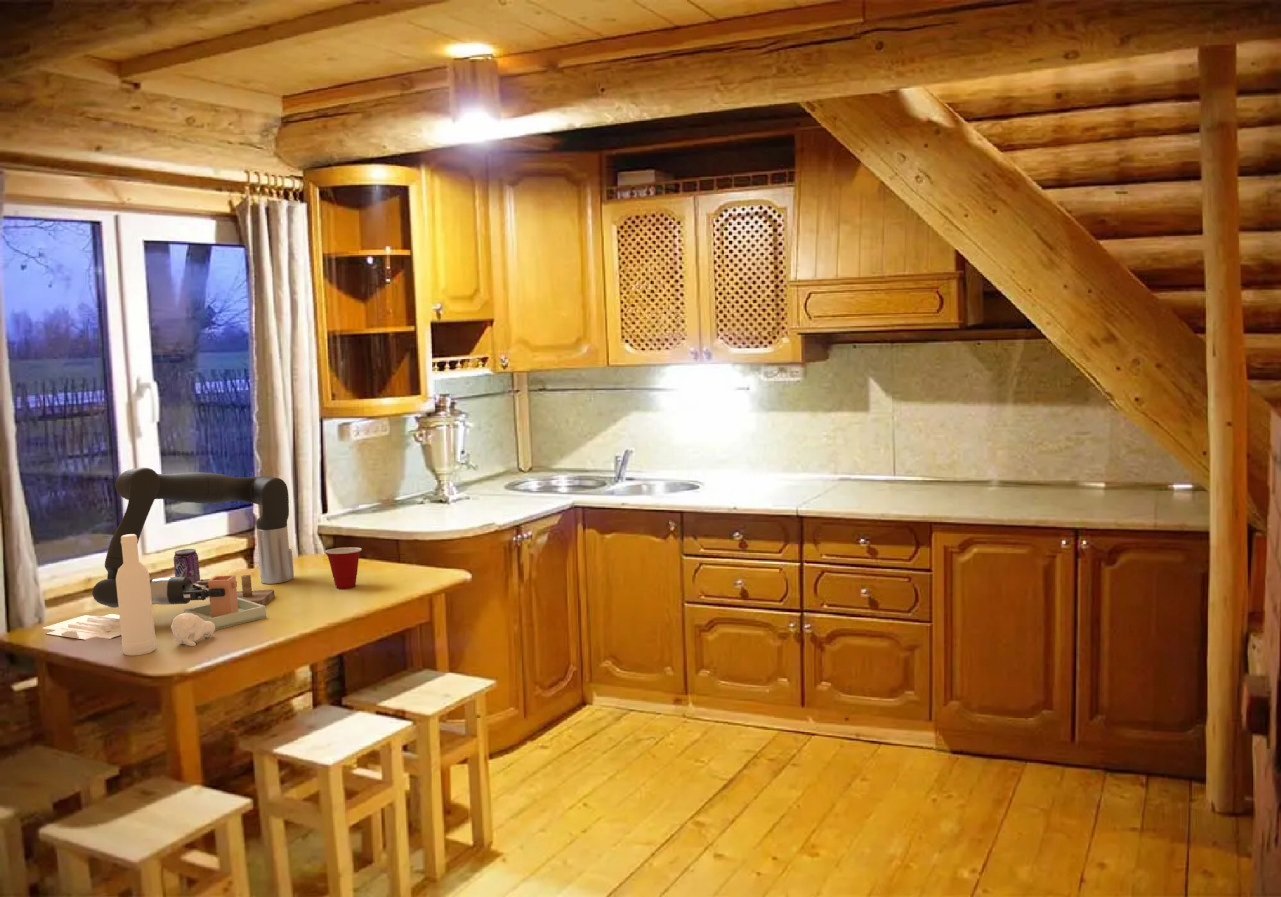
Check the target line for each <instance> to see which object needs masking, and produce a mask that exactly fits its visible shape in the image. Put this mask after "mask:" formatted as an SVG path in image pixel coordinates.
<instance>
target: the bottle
mask: <svg viewBox="0 0 1281 897" xmlns="http://www.w3.org/2000/svg"><path fill="white" fill-rule="evenodd" d="M137 542H138V543H139V541H138V539H137V535H135V534H128V535H123V536H122V537H121V544H122V554H123V564H122V566H121V567H120V568H119V569H118V572H117V575H116V586H117V596H118V606H119V607H118V615H119V616H120V626H121V635H120V636H121V648H122V654H123V655H125V656H129V657H130V656H133V657H135V656H143V655H147V654H149V653H152V652H154V651H156V650H157V637H156V633H155V632H156V631H155V621H154V619H155V618H154V612H153V604H152V598H151V587H150V579H151V577H150V573H149V570H148V568H147V567H146V565H145V564H143V563H142V562H140V560H139V558H140V556H139V548H138V547H139V546H138V545H137Z"/></svg>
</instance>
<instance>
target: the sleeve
mask: <svg viewBox="0 0 1281 897" xmlns="http://www.w3.org/2000/svg"><path fill="white" fill-rule="evenodd" d="M236 577H237V576H236V575H234V574H233V575H231V574H230V575H215V576H213V577H212V578H209V579H210V580H209V581H208V585H209V589H213V588H224V589H225V596H223V597H211V596H210V598H209V604H210V608H211V617H212V618H213V617H218V616H222V615H226V614H230V613H234V612H238V600H237V591H238V590H237V588H238V585H237V584H238V582H237V578H236Z"/></svg>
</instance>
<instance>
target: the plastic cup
mask: <svg viewBox="0 0 1281 897" xmlns="http://www.w3.org/2000/svg"><path fill="white" fill-rule="evenodd" d="M361 551H362V548H361V547H353V546H352V547H336V548H330V549H326V550H325V551H324V552H325V553H326V555H327V558H328V561H329V562H328V563H329V565H330V569H331V570H330V571H331V574H332V578H333V581H334V585H335V587H336V589H338V590H348V589H352V588H355V587H356V584H357V576H358V570H359V569H358V568H359V559H360V555H361Z"/></svg>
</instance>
